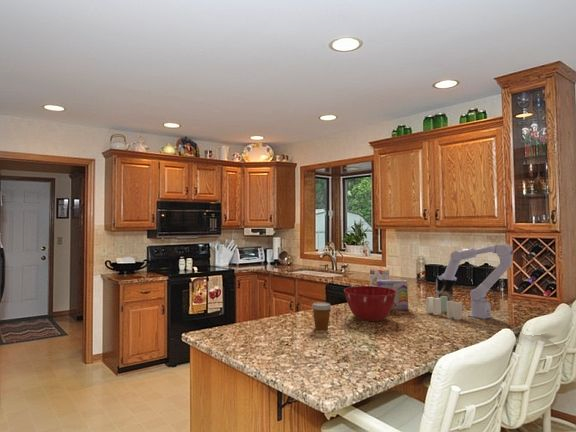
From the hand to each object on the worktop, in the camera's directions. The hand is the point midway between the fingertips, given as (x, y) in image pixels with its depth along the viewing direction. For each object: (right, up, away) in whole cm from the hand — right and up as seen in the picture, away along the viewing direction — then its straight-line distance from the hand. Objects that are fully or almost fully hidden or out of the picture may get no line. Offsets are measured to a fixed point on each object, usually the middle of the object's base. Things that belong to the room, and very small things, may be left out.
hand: (442, 290), depth 237 cm
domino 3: (0, -12, -2) cm, 12 cm away
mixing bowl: (-47, -12, -18) cm, 51 cm away
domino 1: (-9, -12, -4) cm, 16 cm away
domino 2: (-6, -12, -8) cm, 16 cm away
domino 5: (+1, -12, -20) cm, 23 cm away
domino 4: (-2, -12, -16) cm, 20 cm away
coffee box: (+9, -13, +21) cm, 26 cm away
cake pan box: (-29, -13, +6) cm, 32 cm away
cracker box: (-29, -13, +36) cm, 48 cm away
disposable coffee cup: (-75, -12, -38) cm, 85 cm away
